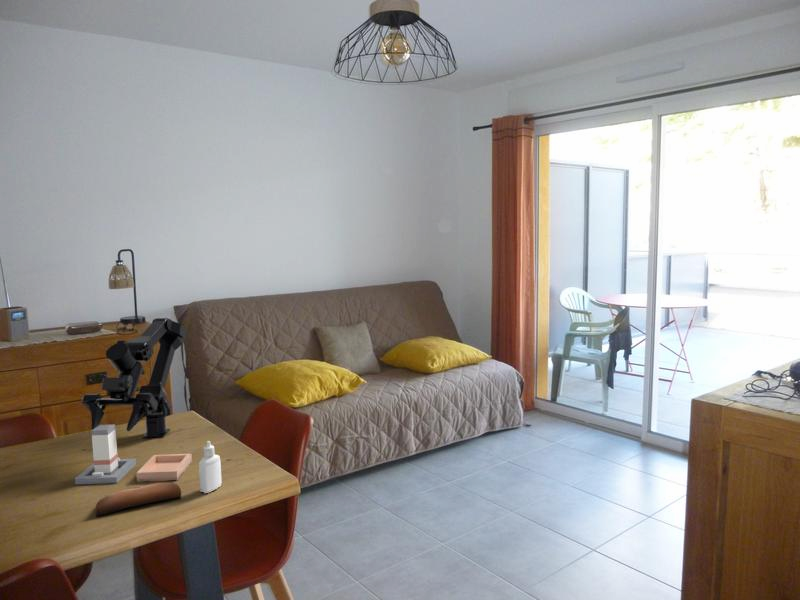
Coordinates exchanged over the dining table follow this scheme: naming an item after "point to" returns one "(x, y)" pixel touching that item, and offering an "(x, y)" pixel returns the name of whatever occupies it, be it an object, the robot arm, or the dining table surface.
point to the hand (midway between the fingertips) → (110, 430)
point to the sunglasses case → (137, 497)
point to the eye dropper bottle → (209, 470)
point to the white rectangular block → (105, 449)
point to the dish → (164, 467)
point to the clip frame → (98, 478)
